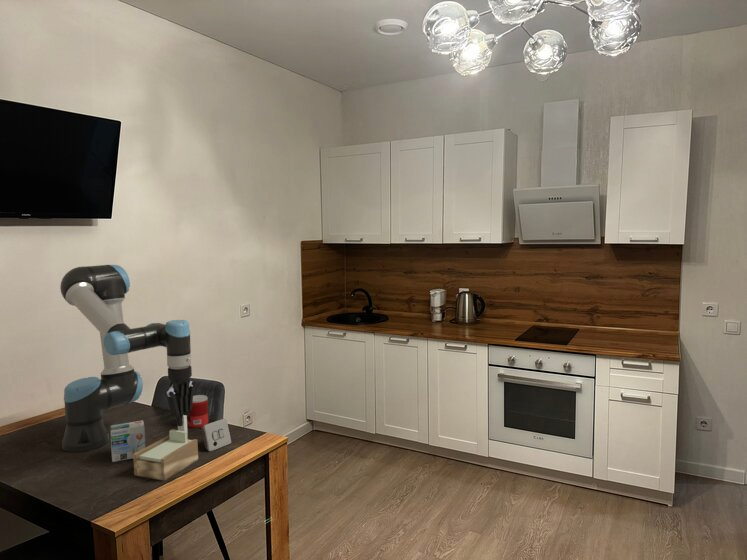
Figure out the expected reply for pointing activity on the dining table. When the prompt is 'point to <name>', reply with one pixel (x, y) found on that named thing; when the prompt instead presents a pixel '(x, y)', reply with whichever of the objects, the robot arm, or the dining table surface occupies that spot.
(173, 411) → the robot arm
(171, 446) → the lid
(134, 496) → the dining table surface
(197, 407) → the canned food
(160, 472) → the pencil box
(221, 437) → the electrical switch
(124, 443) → the light bulb box
